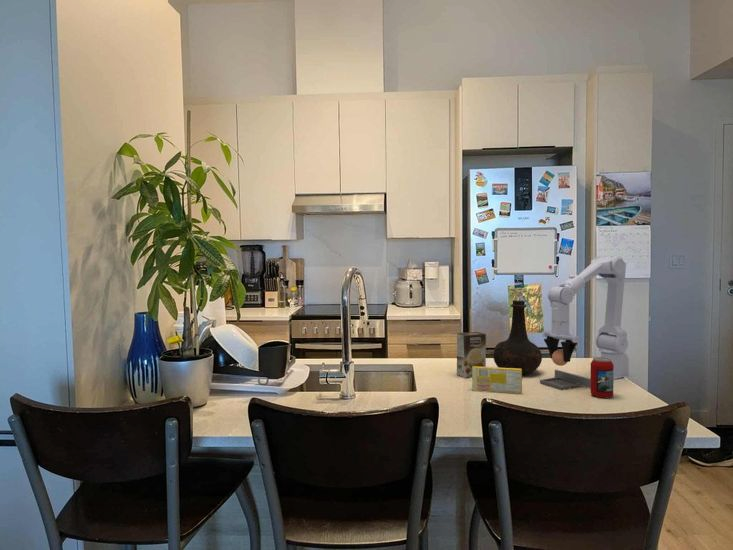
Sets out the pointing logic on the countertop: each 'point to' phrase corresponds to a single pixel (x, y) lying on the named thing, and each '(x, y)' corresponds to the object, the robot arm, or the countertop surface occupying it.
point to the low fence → (573, 377)
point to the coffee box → (470, 352)
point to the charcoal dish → (560, 383)
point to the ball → (558, 358)
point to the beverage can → (602, 377)
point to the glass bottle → (518, 345)
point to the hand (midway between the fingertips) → (560, 360)
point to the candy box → (497, 379)
